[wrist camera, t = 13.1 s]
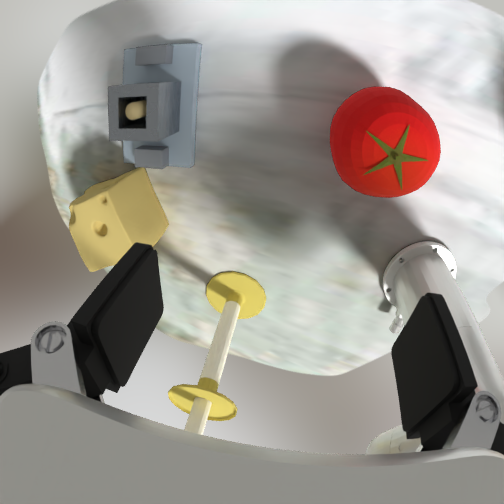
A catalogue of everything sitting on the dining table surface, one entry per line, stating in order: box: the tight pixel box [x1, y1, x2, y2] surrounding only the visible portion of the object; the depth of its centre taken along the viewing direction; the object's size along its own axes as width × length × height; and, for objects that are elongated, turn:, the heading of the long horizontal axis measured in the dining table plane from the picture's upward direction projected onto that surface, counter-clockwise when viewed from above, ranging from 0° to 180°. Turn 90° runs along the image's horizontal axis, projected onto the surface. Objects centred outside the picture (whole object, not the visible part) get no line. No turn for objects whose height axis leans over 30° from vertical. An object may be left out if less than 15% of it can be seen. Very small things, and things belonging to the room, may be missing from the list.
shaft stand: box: [123, 43, 202, 169], centre depth 30 cm, size 16×10×7 cm, turn 174°
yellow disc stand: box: [168, 272, 266, 435], centre depth 32 cm, size 10×10×38 cm
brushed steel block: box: [108, 81, 182, 142], centre depth 29 cm, size 6×6×6 cm
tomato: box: [330, 87, 441, 198], centre depth 26 cm, size 11×11×13 cm
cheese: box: [69, 167, 169, 272], centre depth 38 cm, size 10×11×10 cm
